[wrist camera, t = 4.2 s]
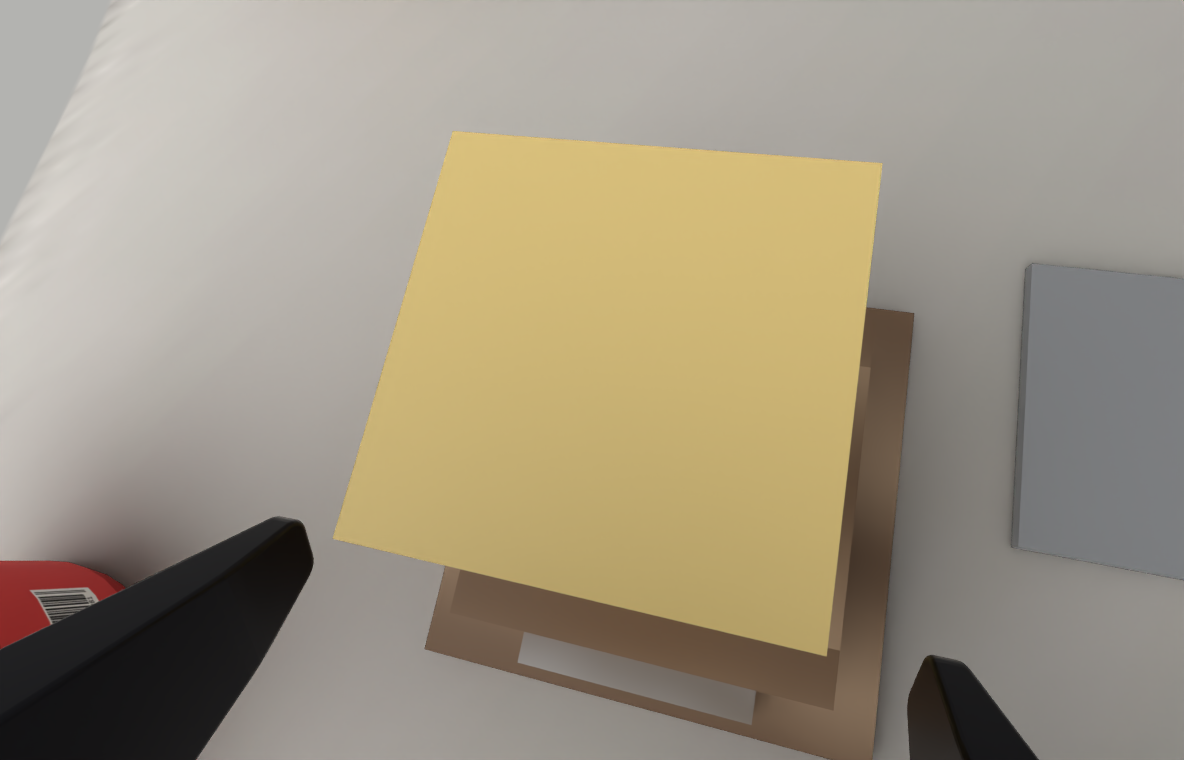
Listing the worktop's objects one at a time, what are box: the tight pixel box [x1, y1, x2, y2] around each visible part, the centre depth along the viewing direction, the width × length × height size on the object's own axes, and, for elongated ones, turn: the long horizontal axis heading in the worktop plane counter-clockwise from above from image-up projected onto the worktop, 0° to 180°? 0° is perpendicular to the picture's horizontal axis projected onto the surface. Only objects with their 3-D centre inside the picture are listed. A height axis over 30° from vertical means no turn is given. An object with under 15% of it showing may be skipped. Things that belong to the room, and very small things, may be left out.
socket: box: [425, 307, 914, 760], centre depth 17 cm, size 12×12×4 cm
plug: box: [333, 131, 882, 656], centre depth 12 cm, size 5×5×12 cm
